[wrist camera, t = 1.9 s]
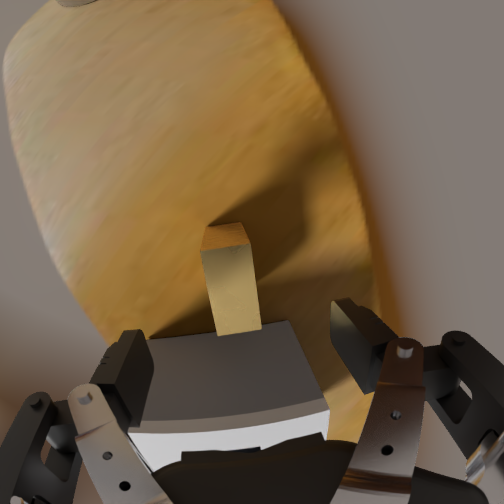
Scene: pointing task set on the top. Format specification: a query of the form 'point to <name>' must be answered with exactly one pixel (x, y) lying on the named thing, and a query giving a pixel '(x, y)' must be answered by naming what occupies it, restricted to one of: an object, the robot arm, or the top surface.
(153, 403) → the coin box
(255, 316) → the tan rectangular block
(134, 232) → the top surface
